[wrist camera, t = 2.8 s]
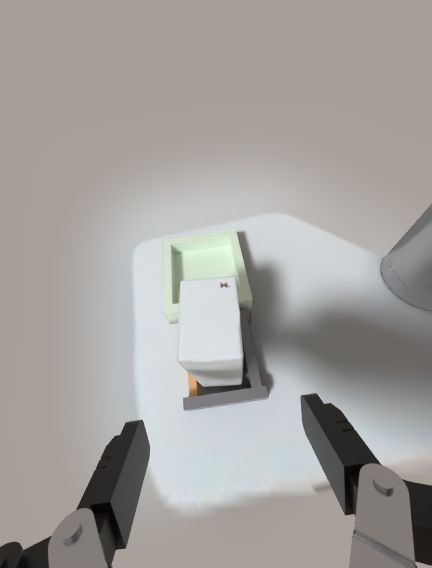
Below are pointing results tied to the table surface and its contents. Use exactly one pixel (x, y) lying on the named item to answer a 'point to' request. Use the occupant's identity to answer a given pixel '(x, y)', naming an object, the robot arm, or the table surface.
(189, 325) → the skincare box
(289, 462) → the table surface
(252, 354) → the grey shallow square tray
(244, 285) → the parts tray
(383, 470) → the robot arm
